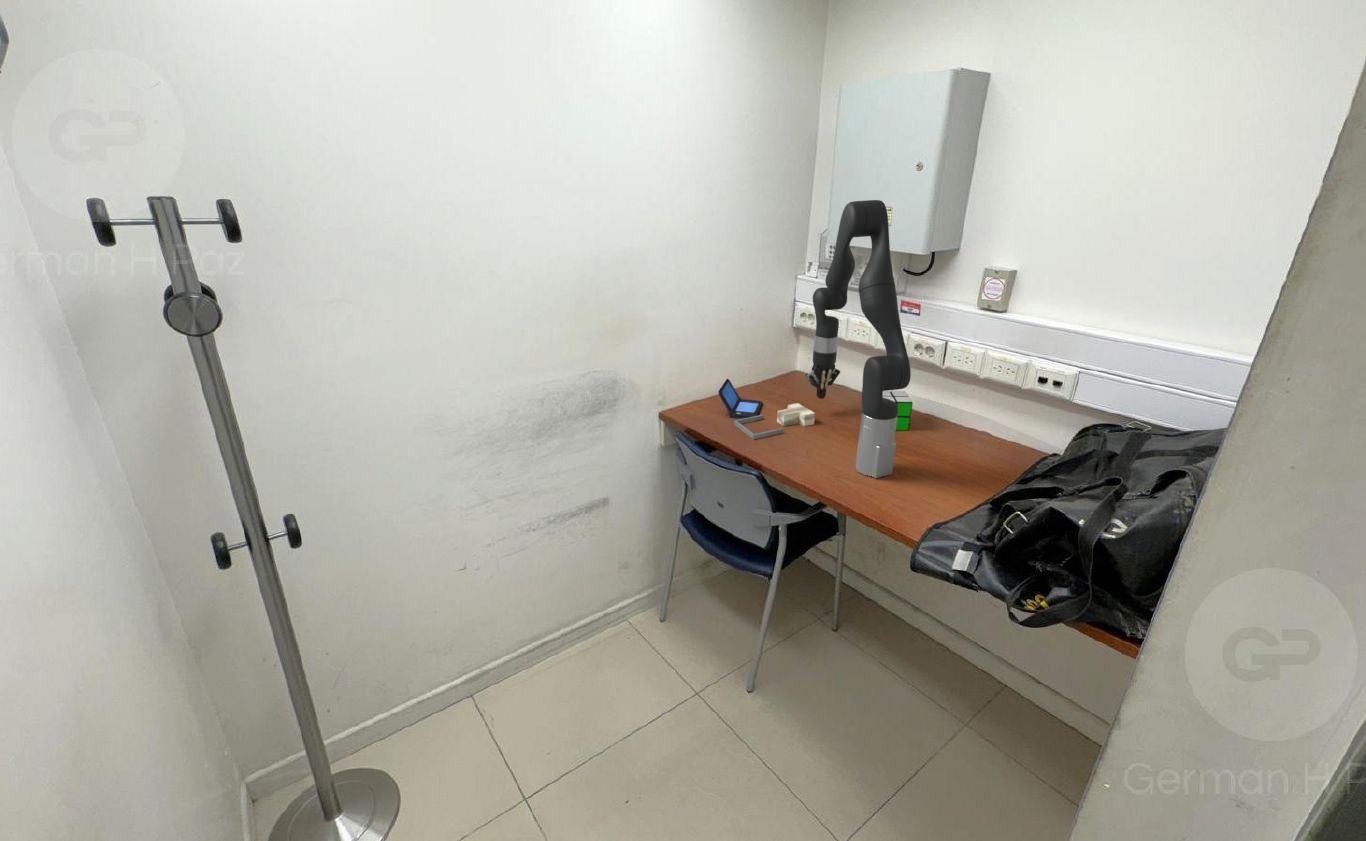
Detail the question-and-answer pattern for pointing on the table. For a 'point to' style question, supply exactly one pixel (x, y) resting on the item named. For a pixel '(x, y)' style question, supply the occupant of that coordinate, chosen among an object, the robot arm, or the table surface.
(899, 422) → the puzzle cube
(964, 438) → the table surface
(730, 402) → the handheld game console
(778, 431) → the frame
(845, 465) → the table surface
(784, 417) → the t block
